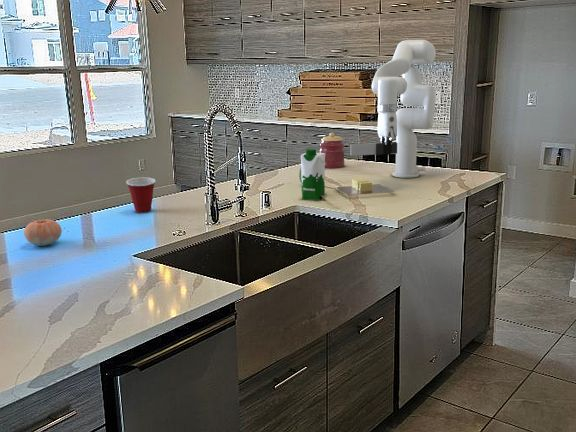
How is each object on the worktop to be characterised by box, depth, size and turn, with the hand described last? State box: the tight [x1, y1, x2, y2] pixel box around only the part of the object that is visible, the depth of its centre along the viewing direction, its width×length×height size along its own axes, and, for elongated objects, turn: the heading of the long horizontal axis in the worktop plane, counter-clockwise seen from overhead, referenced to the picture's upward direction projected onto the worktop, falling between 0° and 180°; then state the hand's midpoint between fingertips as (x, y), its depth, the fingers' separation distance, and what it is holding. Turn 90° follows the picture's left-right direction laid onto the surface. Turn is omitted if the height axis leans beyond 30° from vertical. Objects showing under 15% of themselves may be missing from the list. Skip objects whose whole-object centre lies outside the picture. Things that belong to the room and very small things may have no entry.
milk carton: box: [300, 148, 326, 201], centre depth 235 cm, size 9×9×20 cm
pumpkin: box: [23, 218, 63, 247], centre depth 183 cm, size 11×11×8 cm
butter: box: [351, 177, 370, 190], centre depth 247 cm, size 5×7×4 cm
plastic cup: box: [125, 176, 157, 214], centre depth 221 cm, size 11×11×12 cm
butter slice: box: [359, 181, 373, 192], centre depth 241 cm, size 5×2×4 cm, turn 105°
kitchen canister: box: [319, 131, 346, 169], centre depth 306 cm, size 13×13×18 cm
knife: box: [350, 141, 397, 157], centre depth 242 cm, size 20×2×4 cm, turn 105°
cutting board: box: [335, 183, 396, 196], centre depth 245 cm, size 20×16×2 cm
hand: (386, 153), depth 244 cm, fingers closed on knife, 2 cm apart
